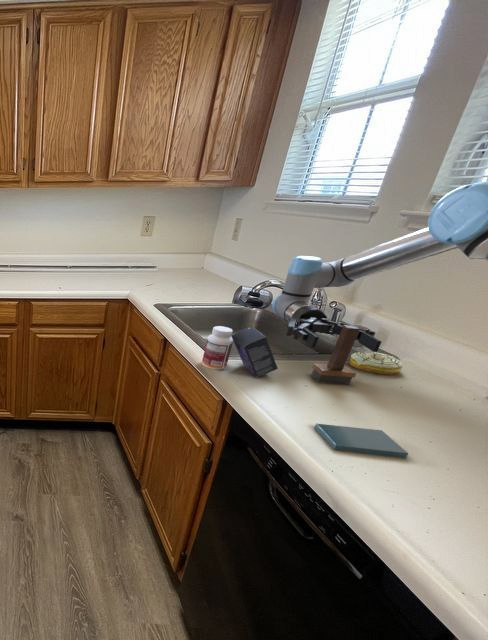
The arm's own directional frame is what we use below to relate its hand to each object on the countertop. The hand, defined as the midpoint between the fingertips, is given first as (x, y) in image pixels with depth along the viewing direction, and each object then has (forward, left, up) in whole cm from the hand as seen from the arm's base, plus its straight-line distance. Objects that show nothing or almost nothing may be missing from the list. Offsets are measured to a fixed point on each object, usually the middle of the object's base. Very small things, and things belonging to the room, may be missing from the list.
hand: (346, 344), depth 103 cm
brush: (0, -1, -11) cm, 11 cm away
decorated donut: (-16, -12, -11) cm, 23 cm away
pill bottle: (+27, -4, -11) cm, 29 cm away
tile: (+9, +30, -11) cm, 33 cm away
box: (+16, -2, -9) cm, 19 cm away
